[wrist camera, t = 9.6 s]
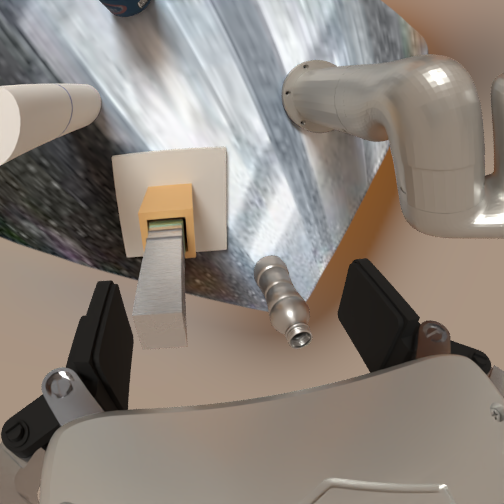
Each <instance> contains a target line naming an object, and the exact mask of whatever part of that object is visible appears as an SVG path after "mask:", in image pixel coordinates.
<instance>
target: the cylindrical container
mask: <svg viewBox="0 0 504 504" xmlns="http://www.w3.org/2000/svg"><path fill="white" fill-rule="evenodd" d="M100 109H101V97H100V94H99V93H98V91H97V90H96V89H95V88H94V87H92V86H90V85H87V84H24V85H9V86H0V165H2V164H4V163H6V162H8V161H10V160H11V159H13V158H15V157H17V156H19V155H21V154H23V153H25V152H27V151H29V150H31V149H33V148H36V147H38V146H40V145H42V144H44V143H46V142H49V141H51V140H53V139H55V138H58V137H60V136H63V135H65V134H67V133H70V132H72V131H75V130H77V129H80V128H83V127H85V126H87V125H89V124H91V123H92V122H93V121H94V120H95V119H96V118H97V116H98V114H99V112H100Z"/></svg>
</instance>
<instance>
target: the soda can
mask: <svg viewBox="0 0 504 504" xmlns="http://www.w3.org/2000/svg"><path fill="white" fill-rule="evenodd" d="M99 1H100V2H101V3H102V4H103V5H104V6H105V7H106V8H107V9H108V10H109V11H110V12H111V13H113V14H114V15H116V16H120V17H128V16H132V15H135V14H137V13H139V12H141V11H142V10H144V9H145V8H146V7H147V6H148V4H149V3H150V1H151V0H99Z"/></svg>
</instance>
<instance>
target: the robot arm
mask: <svg viewBox="0 0 504 504" xmlns="http://www.w3.org/2000/svg"><path fill="white" fill-rule="evenodd" d="M303 66H305V68H304V67H303ZM286 92H288V94H287V95H286ZM282 102H283V106H284V109H285V111H286V113H287V115H288V116H289V117H290V119H291V120H292V121H293V122H294V123H295V124H296V125H298V126H299V127H301V128H303V129H305V130H307V131H311V132H315V133H324V132H329V131H332V130H338V131H341V132H344V133H347V134H350V135H352V136H355V137H358V138H362V139H364V140H368V141H373V142H381V141H386V140H389V143H390V148H391V153H392V156H393V161H394V167H395V173H396V179H397V186H398V193H399V199H400V205H401V209H402V212H403V215H404V217H405V219H406V220H407V222H408V223H409V224H410V225H411V226H412V227H413V228H414V229H416V230H417V231H419V232H421V233H424V234H427V235H431V236H435V237H443V238H498V239H499V238H501V239H504V73H502V74H500V75H498V76H497V77H496V78H495V79H494V81H493V83H492V87H491V108H492V123H493V141H494V172H493V173H492V174H489V175H486V176H485V157H484V155H485V144H484V130H483V120H482V112H481V105H480V100H479V97H478V93H477V90H476V87H475V84H474V82H473V80H472V78H471V76H470V75H469V73H468V72H467V70H466V69H465V68H464V67H463V66H462V65H461V64H460V63H458V62H457V61H455V60H453V59H451V58H449V57H446V56H441V55H429V54H428V55H418V56H412V57H408V58H404V59H400V60H396V61H392V62H386V63H379V64H364V65H350V66H338V67H337V66H336V65H334V64H332V63H330V62H327V61H323V60H311V61H306V62H303V63H301V64H299V65H297V66H296V67H294V68H293V69H292V70H291V71H290V72H289V74H288V75H287V77H286V78H285V80H284V83H283V87H282ZM301 121H302V122H303V123H302V124H301ZM338 318H339V320H340V322H341V324H342V325H343V327H344V328H345V330H346V332H347V334H348V335H349V337H350V339H351V340H352V342H353V344H354V345H355V347H356V349H357V350H358V352H359V354H360V355H361V357H362V359H363V361H364V362H365V364H366V366H367V368H368V369H369V371H370V373H369V374H365V375H362V376H358V377H354V378H350V379H347V380H343V381H339V382H335V383H331V384H327V385H322V386H318V387H314V388H309V389H304V390H299V391H294V392H290V393H284V394H278V395H273V396H267V397H261V398H255V399H248V400H241V401H233V402H225V403H217V404H208V405H197V406H185V407H172V408H155V409H134V410H128V396H129V383H130V370H131V361H132V351H133V334H132V331H131V327H130V324H129V321H128V318H127V315H126V311H125V308H124V304H123V301H122V297H121V294H120V290H119V287H118V284H114V283H113V281H99V282H98V283H97V285H96V288H95V291H94V293H93V296H92V299H91V302H90V305H89V308H88V311H87V314H86V316H82V317H81V319H80V321H79V324H78V327H77V331H76V333H75V337H74V340H73V343H72V347H71V350H70V354H69V357H68V361H67V365H66V368H57V369H54V370H52V371H51V372H49V373H48V374H47V375H46V377H45V378H44V380H43V382H42V392H43V395H41V396H40V397H39V398H37V399H36V400H35V401H33V402H32V403H30V404H29V405H28V406H26V407H25V408H23V409H22V410H21V411H19V412H18V413H17V414H15V415H14V416H13V417H11V418H10V419H9V420H7V421H6V422H5V424H4V426H3V428H2V432H1V438H2V442H1V444H0V504H504V371H502V370H501V369H499V368H498V367H496V366H495V365H494V366H493V368H492V367H491V362H490V360H489V358H488V357H487V356H486V354H484V353H483V352H481V351H479V350H476V349H474V348H471V347H468V346H465V345H462V344H459V343H456V342H454V341H451V340H450V333H449V331H448V330H447V329H446V327H445V326H443V325H442V324H440V323H438V322H436V321H425V322H423V323H422V324H420V323H419V322H418V321H419V318H420V317H419V316H418V315H417V314H416V313H415V311H414V310H413V309H412V308H411V307H410V305H409V304H408V303H407V302H406V301H405V300H404V299H403V297H402V296H401V295H400V294H399V293H398V292H397V291H396V289H395V288H394V287H393V286H392V285H391V284H390V283H389V282H388V280H387V279H386V278H385V277H384V276H383V275H382V274H381V273H380V272H379V270H377V268H376V267H375V266H374V265H373V264H372V263H371V262H370V261H369V260H368V259H366V258H365V259H356V260H354V261H353V262H352V264H350V266H349V269H348V274H347V277H346V282H345V286H344V290H343V294H342V298H341V302H340V306H339V310H338ZM39 487H40V503H39V501H38V498H37V492H38V489H39Z"/></svg>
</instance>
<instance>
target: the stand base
mask: <svg viewBox="0 0 504 504" xmlns="http://www.w3.org/2000/svg"><path fill="white" fill-rule="evenodd" d="M112 166H113V174H114V183H115V190H116V197H117V204H118V211H119V217H120V223H121V229H122V235H123V240H124V245H125V250H126V255H127V257H139V256H143V255H144V251H145V246H146V238H147V237H148V231H149V222H151V221H152V219H164V218H177V217H183V225H184V239H185V258H194V257H196V252H202V251H215V250H227V229H226V147H202V148H185V149H171V150H159V151H148V152H139V153H130V154H121V155H114V156H112Z"/></svg>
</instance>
